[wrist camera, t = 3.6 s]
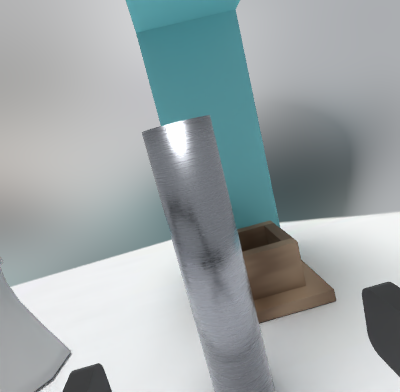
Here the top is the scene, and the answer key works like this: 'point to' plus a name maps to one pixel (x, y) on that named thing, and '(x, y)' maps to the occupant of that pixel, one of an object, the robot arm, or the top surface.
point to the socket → (279, 273)
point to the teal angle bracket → (208, 90)
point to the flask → (25, 346)
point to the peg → (209, 253)
